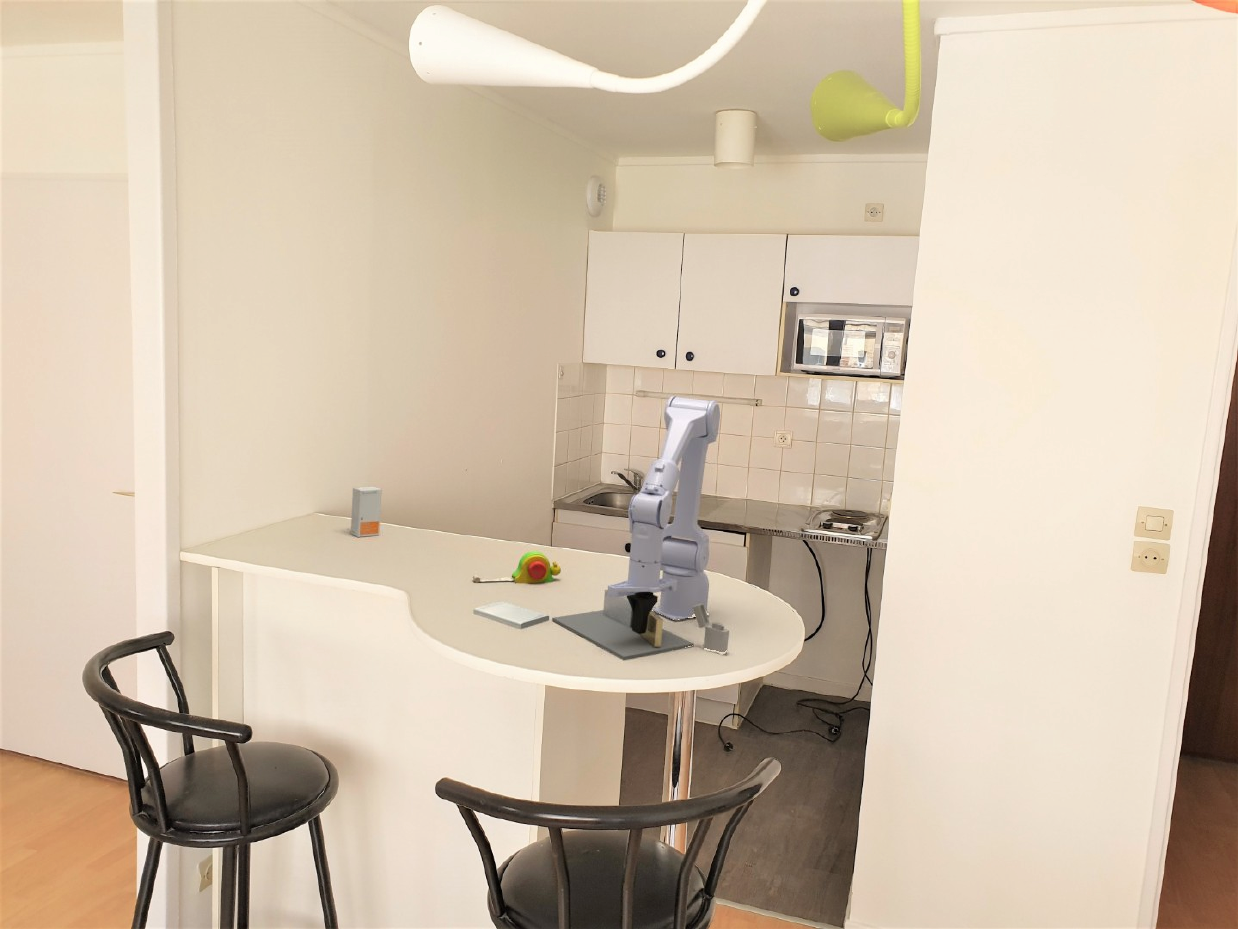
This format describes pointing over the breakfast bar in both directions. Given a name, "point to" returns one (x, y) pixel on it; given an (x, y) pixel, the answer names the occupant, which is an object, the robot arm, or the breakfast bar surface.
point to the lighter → (711, 630)
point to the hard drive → (511, 614)
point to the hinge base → (617, 630)
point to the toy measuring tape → (530, 570)
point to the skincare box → (366, 511)
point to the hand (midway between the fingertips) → (639, 632)
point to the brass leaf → (654, 629)
